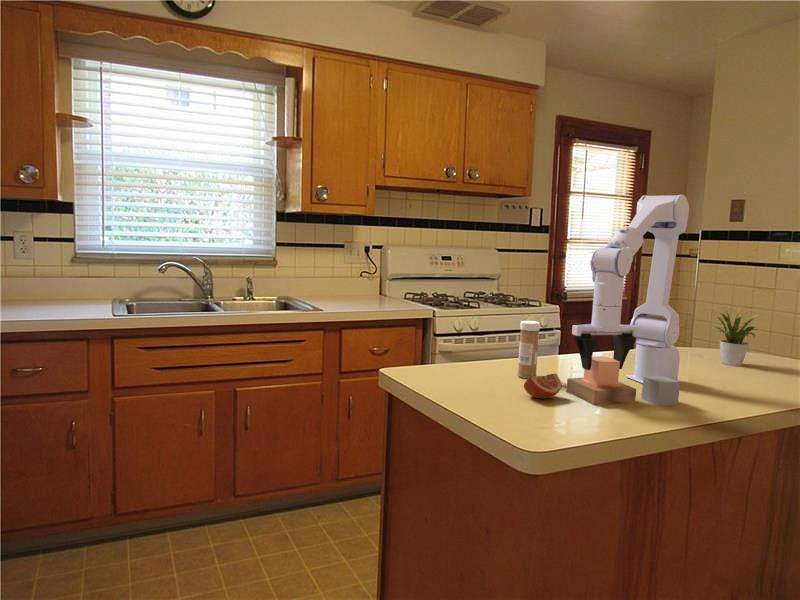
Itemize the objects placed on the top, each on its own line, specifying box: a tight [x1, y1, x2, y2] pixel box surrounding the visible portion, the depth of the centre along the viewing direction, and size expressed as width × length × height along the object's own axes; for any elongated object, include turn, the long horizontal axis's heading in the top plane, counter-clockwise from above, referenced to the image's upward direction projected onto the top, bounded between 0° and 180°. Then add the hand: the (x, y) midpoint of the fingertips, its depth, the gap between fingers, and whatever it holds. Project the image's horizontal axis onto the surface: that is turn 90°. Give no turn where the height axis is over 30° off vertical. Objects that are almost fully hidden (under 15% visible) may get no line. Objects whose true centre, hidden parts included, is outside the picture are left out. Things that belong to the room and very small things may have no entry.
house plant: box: [706, 306, 761, 367], centre depth 165 cm, size 14×14×16 cm
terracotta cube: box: [583, 355, 620, 385], centre depth 125 cm, size 5×5×5 cm
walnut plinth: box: [566, 377, 637, 406], centre depth 125 cm, size 10×10×4 cm
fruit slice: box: [523, 373, 563, 399], centre depth 123 cm, size 8×7×5 cm
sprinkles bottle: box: [517, 320, 541, 380], centre depth 140 cm, size 5×5×14 cm
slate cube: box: [641, 376, 681, 407], centre depth 123 cm, size 5×5×5 cm
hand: (602, 368), depth 125 cm, fingers open, 7 cm apart
